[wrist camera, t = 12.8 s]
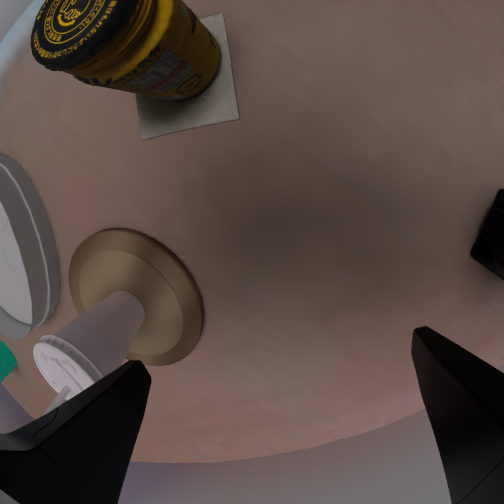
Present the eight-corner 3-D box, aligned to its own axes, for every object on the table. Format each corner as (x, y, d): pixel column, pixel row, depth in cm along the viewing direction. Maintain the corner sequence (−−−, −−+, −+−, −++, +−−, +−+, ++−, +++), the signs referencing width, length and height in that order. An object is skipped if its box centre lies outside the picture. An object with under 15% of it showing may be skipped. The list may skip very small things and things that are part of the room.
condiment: (223, 14, 15) (152, -82, 4) (239, 119, 18) (162, 91, 7) (132, 42, 16) (18, 0, 5) (143, 140, 19) (14, 157, 8)
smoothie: (110, 334, 25) (31, 436, 12) (90, 275, 23) (-18, 371, 10) (166, 340, 24) (93, 469, 11) (148, 276, 22) (36, 403, 9)
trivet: (225, 268, 22) (222, 275, 21) (184, 378, 27) (181, 385, 26) (80, 205, 22) (72, 208, 21) (74, 321, 27) (69, 326, 26)
